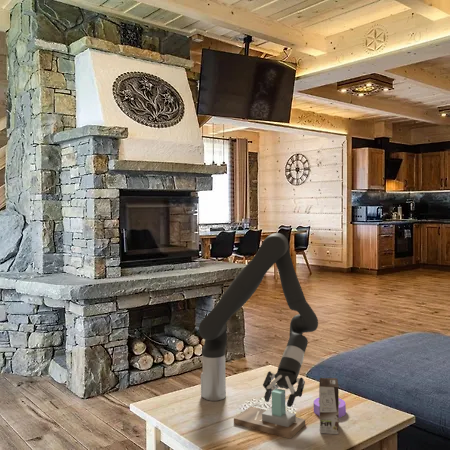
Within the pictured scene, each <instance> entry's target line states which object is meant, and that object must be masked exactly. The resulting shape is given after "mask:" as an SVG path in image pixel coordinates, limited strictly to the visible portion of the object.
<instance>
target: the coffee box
mask: <svg viewBox="0 0 450 450" xmlns="http://www.w3.org/2000/svg"><path fill="white" fill-rule="evenodd" d="M318 382H319V386H318V388H319V389H318V390H319V395H318V396H319V397H318V398H319V405H320V416H319V433H320V434H328V435H339V428H340V427H339V426H340V424H339V422H340V421H339V419H340V418H339V398H340V397H339V393H340V392H339V380H338V378H337V377H336V378H335V377H319V381H318Z"/></svg>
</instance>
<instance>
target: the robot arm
mask: <svg viewBox="0 0 450 450" xmlns="http://www.w3.org/2000/svg"><path fill="white" fill-rule="evenodd" d="M288 240H289V239H288V238H287V237H286V236H285V235H284V234H283V233H280V232H274V233H271V234H269V235H267V237H266V238H265V239H264V240H263V241H262V243H261V244H260V247H258V250H257V251H256V253H255V254H254V256H253V258H252V259H251V260H250V261H249V262H248V263H247V264H246V265H245V267H243V268H242V269H241V270H240V272H239V273H238V274H237V275H236V276H235V277H234V279H233V280H232V281H231V283H230V284H229V285H228V287H227V289H226V290H225V291H224V292H223V294H222V295H221V297H220V299H219V300H218V302H217V304H216V305H215V306H214V307H213V308H212V310H211V311H210V312H208V314H207V315H205V316H204V317H203V319H201V321H200V322H199V325H198V332H199V333H198V334H199V336H200V337H201V338H202V339H203V340H204V343H203V346H202V349H201V356H202V357H201V358H202V361H201V362H202V364H201V365H202V372H201V373H200V397H201V398H203V399H204V400H207V401H209V402H210V401H211V402H212V401H215V402H216V401H222V400H224V399H225V398H226V397H227V386H226V385H227V384H226V383H227V382H226V380H227V379H226V350H227V349H226V348H227V338H228V337H227V336H228V335H227V334H228V333H227V332H228V331H227V330H228V326H227V322H228V321H229V320H230V318H231V317H232V316H233V315H234V314H235V313H237V311H239V310H240V309H241V308H242V307H243V306H244V305H245V304H246V303H247V302H248V301H249V300H250V298H251V297H252V296H253V295H254V293H256V291H257V289H258V288H259V287H260V285H261V283H262V281H263V279H264V277H265V275H266V274H267V272H269V270H270V269H271V268H272V267H273V266H274V265H276V268H277V270H278V274H279V279H280V283H281V284H280V285H281V289H282V292H283V295H284V297H285V300H286V303H287V306H288V308H289V309H290V310H291V311H295V312H297V313H298V314H295V315H294V316H293V317H292V318H291V320H290V323H289V324H290V325H289V339H288V341H287V343H286V346H285V349H284V350H283V353H282V355H281V357H280V362H279V365H278V367H277V372H276V373H272V371H268V372H267V374H266V377H265V379H264V381H263V383H262V387H264V388H263V389H265V390H266V391H265V394H264V397H263V398H264V400H265V402H266V403H269V402H270V399H271V398H272V391H273V390H275V389H276V388H277V389H284V390H289V392H290V394H289V395H288V398H287V402H286V406H287V407H288V408H291V407H292V406H293V405H294V402H295V400H296V398H297V397H300V398H302V395H303V392H304V387H305V385H306V381H305V380H304V378H303V377H300V378H298V377H299V374H300V371H301V368H302V365H303V362H304V356H305V352H306V350H307V347H308V343H309V342H308V341H309V340H308V338H307V337H306V336H305V335H303V334H304V333H311V332H313V333H314V332H315V331H316V330H317V329H318V327H319V320H318V316H317V315H316V313H315V311H314V310H313V308H312V307H311V306H310V304H309V303H308V301H307V299H306V298H305V295H304V291H303V289H302V287H301V284H300V282H299V278H298V275H297V273H296V271H295V267H294V264H293V260H292V256H291V250H290V246H289V241H288ZM295 384H297V388H296V390H295V387H294V385H295Z"/></svg>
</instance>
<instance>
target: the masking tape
mask: <svg viewBox="0 0 450 450" xmlns="http://www.w3.org/2000/svg"><path fill="white" fill-rule="evenodd" d="M346 406H347V403H346V401H345V400H343V399H342V398H340V397H339V419H340V418H342V416H343V417H344V416H345V415H346V413H347V412H346V411H347V410H346V409H347V407H346ZM313 414H315V415H316V416H319V417H320V405H319V397H316V398H315V399H314V400H313Z"/></svg>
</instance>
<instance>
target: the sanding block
mask: <svg viewBox="0 0 450 450" xmlns="http://www.w3.org/2000/svg"><path fill="white" fill-rule="evenodd" d="M265 410H266V411H265V412H264V413H262V421H265V422H269V423H273V424H277V425H281V426H285V427H289V426H290V425H291V424H292V423H294V422H295V421H296V417H297V416H296V414H297V413H295V412H291V411H287V410H286V389H283V388H276V389H274V390H273V391H272V394H271V407H269V408H268V409H265Z"/></svg>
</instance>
